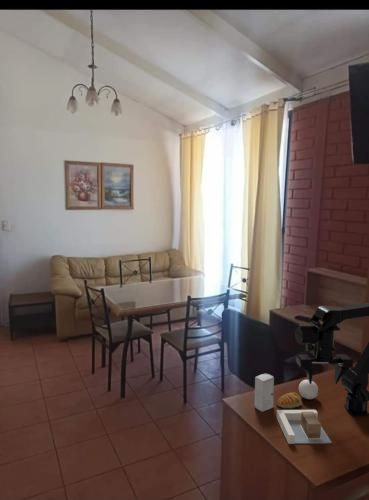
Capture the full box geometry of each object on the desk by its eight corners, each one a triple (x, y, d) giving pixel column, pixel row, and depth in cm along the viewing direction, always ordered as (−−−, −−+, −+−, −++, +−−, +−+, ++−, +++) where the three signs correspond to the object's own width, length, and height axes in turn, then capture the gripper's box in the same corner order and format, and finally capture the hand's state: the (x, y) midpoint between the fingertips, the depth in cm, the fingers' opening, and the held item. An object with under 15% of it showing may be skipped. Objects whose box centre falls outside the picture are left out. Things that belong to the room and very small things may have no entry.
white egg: (313, 405, 136) (314, 387, 135) (295, 398, 141) (296, 381, 140) (323, 394, 143) (324, 377, 142) (305, 388, 148) (306, 372, 147)
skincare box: (262, 412, 131) (263, 381, 130) (253, 406, 135) (254, 376, 133) (273, 407, 135) (274, 377, 133) (265, 401, 138) (266, 372, 137)
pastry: (284, 412, 132) (284, 402, 131) (272, 403, 138) (272, 393, 137) (303, 406, 136) (303, 396, 135) (291, 397, 142) (291, 388, 141)
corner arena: (315, 417, 128) (315, 409, 128) (331, 443, 114) (332, 434, 114) (276, 417, 128) (276, 410, 127) (288, 443, 114) (288, 435, 114)
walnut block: (320, 438, 116) (321, 424, 115) (308, 438, 116) (308, 424, 115) (312, 425, 123) (313, 411, 122) (300, 425, 123) (301, 411, 122)
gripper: (340, 333, 135) (338, 372, 137) (291, 334, 134) (290, 373, 136) (355, 345, 124) (352, 387, 126) (301, 345, 123) (300, 387, 125)
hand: (322, 383), depth 129 cm, fingers open, 9 cm apart
